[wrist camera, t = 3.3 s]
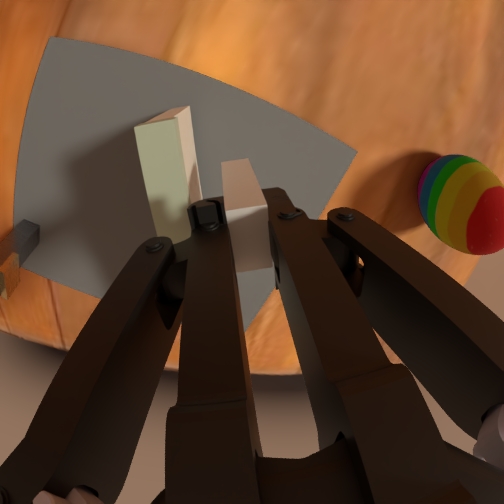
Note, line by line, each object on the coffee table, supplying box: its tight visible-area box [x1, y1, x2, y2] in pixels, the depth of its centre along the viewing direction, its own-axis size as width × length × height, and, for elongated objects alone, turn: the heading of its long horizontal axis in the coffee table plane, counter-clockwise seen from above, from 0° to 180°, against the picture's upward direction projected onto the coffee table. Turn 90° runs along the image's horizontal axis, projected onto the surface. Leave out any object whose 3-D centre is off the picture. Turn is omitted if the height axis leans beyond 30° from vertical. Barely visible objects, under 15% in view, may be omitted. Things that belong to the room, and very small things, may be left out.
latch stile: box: [0, 219, 40, 300], centre depth 16 cm, size 3×3×11 cm
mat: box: [13, 37, 357, 333], centre depth 22 cm, size 26×22×1 cm
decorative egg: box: [418, 155, 504, 255], centre depth 19 cm, size 8×8×10 cm
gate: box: [134, 106, 203, 244], centre depth 18 cm, size 15×2×9 cm, turn 4°
